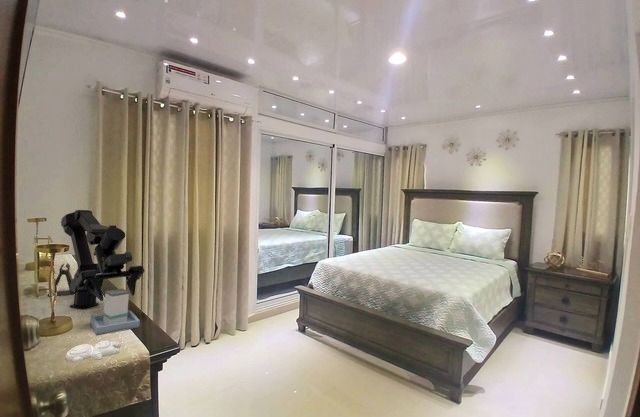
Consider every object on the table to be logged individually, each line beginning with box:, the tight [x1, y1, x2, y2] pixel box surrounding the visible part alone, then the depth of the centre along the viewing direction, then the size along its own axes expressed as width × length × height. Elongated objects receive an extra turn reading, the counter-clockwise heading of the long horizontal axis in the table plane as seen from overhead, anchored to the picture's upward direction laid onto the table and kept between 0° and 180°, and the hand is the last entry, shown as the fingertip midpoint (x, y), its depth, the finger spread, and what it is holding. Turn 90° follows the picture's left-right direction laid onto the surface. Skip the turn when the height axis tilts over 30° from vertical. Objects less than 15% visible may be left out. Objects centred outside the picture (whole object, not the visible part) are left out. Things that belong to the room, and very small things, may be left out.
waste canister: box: [102, 288, 130, 325], centre depth 102 cm, size 5×5×10 cm
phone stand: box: [47, 263, 75, 297], centre depth 129 cm, size 9×6×12 cm, turn 125°
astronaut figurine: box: [64, 339, 122, 363], centre depth 84 cm, size 9×12×3 cm
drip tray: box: [89, 310, 141, 336], centre depth 102 cm, size 12×12×2 cm
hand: (118, 297), depth 102 cm, fingers open, 9 cm apart
